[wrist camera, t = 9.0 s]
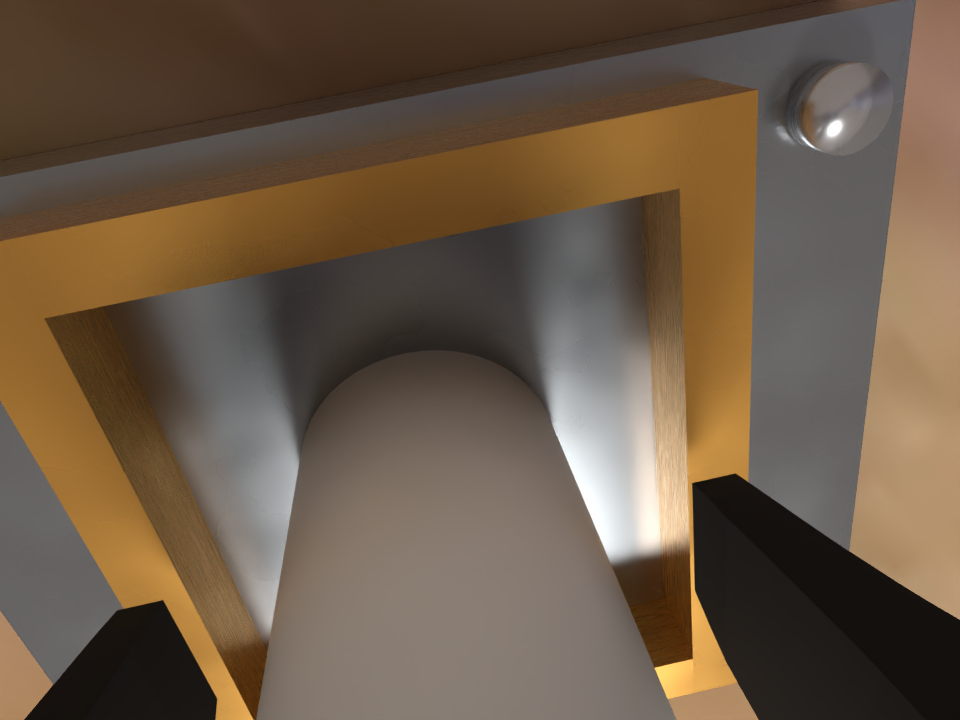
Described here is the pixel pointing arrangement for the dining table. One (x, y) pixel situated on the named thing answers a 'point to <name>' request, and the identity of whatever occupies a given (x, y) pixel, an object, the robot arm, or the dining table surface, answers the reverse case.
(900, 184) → the dining table surface
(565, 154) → the grey fixture plate
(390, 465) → the lidded can
